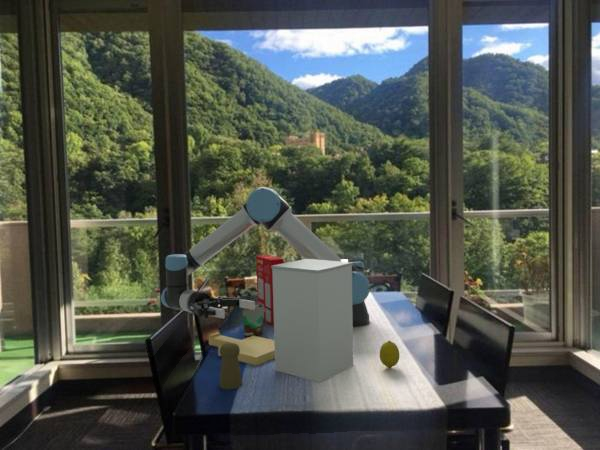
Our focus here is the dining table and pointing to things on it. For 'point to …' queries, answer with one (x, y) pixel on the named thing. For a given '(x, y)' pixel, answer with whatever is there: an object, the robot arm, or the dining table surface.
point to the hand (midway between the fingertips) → (239, 309)
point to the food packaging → (266, 284)
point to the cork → (230, 367)
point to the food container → (253, 320)
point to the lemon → (389, 354)
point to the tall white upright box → (313, 318)
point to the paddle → (247, 347)
